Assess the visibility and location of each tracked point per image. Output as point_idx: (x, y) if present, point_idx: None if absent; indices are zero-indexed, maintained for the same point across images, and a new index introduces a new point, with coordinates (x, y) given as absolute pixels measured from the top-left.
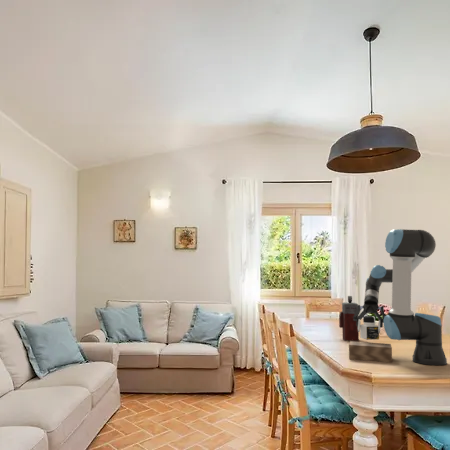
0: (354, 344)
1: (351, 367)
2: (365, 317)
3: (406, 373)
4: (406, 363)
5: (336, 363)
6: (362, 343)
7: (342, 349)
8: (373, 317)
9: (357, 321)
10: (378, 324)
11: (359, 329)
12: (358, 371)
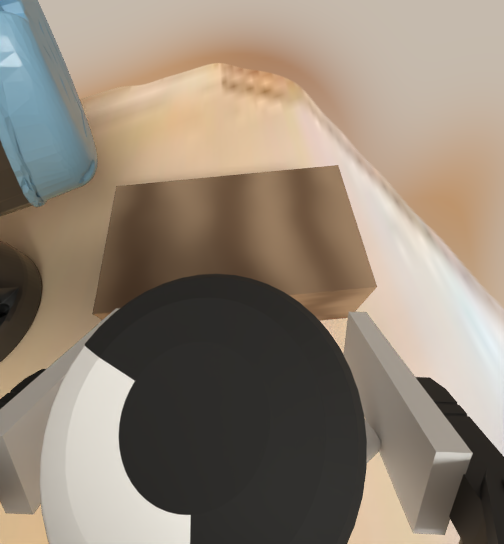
0: (313, 185)
1: (283, 110)
2: (283, 294)
3: (128, 112)
4: (88, 240)
5: (342, 134)
6: (277, 237)
7: None
8: (96, 331)
9: (457, 430)
10: None
11: (350, 354)
12: (256, 83)
